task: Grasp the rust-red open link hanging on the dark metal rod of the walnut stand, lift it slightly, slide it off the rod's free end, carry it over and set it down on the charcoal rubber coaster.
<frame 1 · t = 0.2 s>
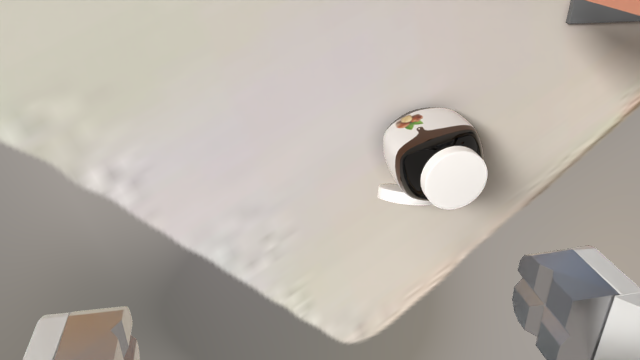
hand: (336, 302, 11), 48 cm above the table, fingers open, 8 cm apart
spread jar: (411, 150, 66), on the table
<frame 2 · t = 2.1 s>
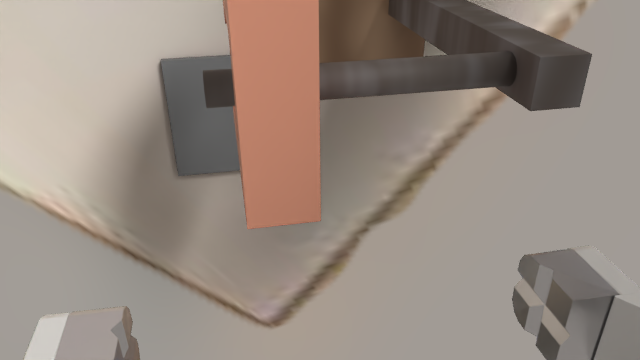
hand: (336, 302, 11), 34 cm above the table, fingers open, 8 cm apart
coaster: (231, 114, 45), on the table
link: (253, 41, 30), point 12 cm above the table, touching stand
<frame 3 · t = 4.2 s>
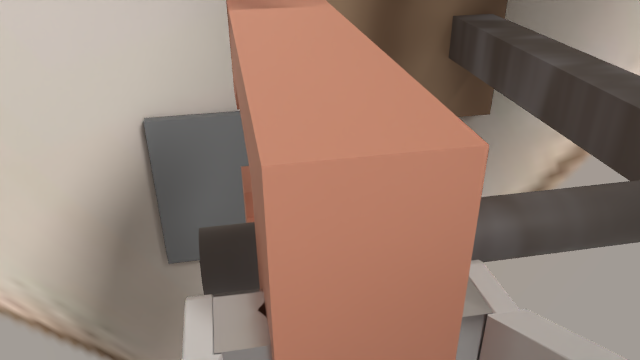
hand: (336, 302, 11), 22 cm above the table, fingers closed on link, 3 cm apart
stand: (347, 37, 31), on the table
coaster: (238, 185, 34), on the table
link: (279, 125, 19), point 12 cm above the table, touching gripper, stand
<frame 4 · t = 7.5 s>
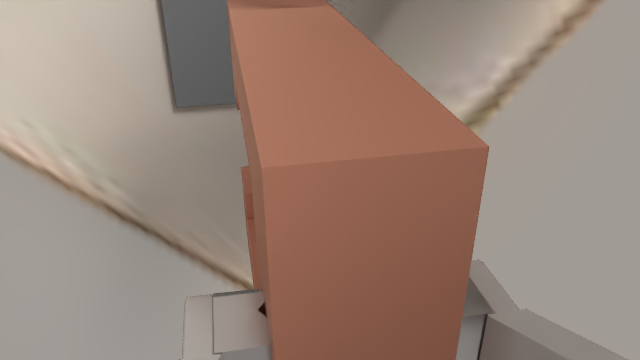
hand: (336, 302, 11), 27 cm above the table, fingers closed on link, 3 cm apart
coaster: (246, 24, 34), on the table
link: (279, 126, 19), point 17 cm above the table, touching gripper
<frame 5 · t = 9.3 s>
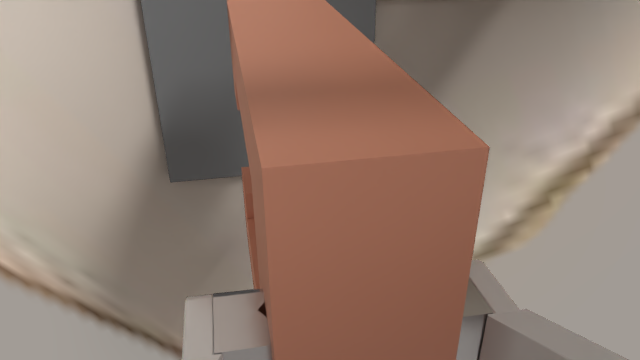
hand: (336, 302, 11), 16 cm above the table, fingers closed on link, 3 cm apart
coaster: (266, 72, 25), on the table
link: (279, 126, 19), point 6 cm above the table, touching gripper
when the fingers open (11 cm above the table, at t = 11.0 s): link stays where it is, resting on coaster.
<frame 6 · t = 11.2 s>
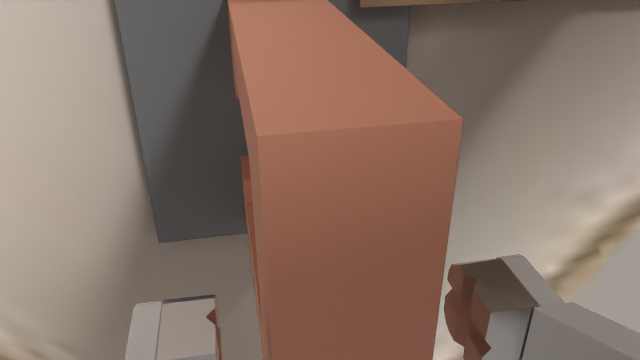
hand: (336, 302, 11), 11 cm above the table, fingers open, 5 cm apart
coaster: (274, 112, 21), on the table
link: (277, 116, 20), point 1 cm above the table, touching coaster
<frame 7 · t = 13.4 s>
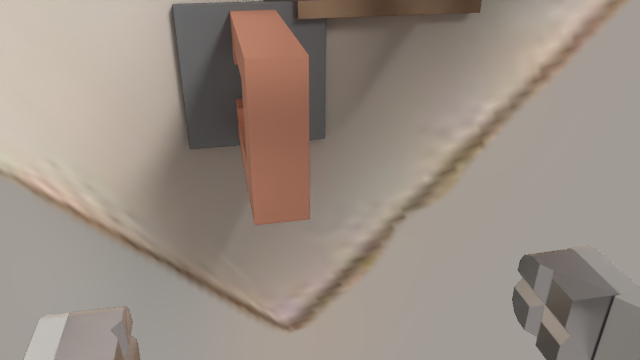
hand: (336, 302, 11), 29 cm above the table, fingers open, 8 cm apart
coaster: (254, 75, 38), on the table
link: (256, 77, 37), point 1 cm above the table, touching coaster
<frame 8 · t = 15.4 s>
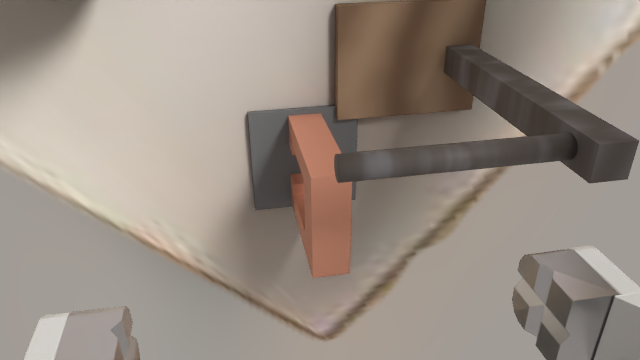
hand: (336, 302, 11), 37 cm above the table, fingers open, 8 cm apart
stand: (378, 59, 48), on the table
coaster: (303, 156, 51), on the table
link: (305, 159, 50), point 1 cm above the table, touching coaster
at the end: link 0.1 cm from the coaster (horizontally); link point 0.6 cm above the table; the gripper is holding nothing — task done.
